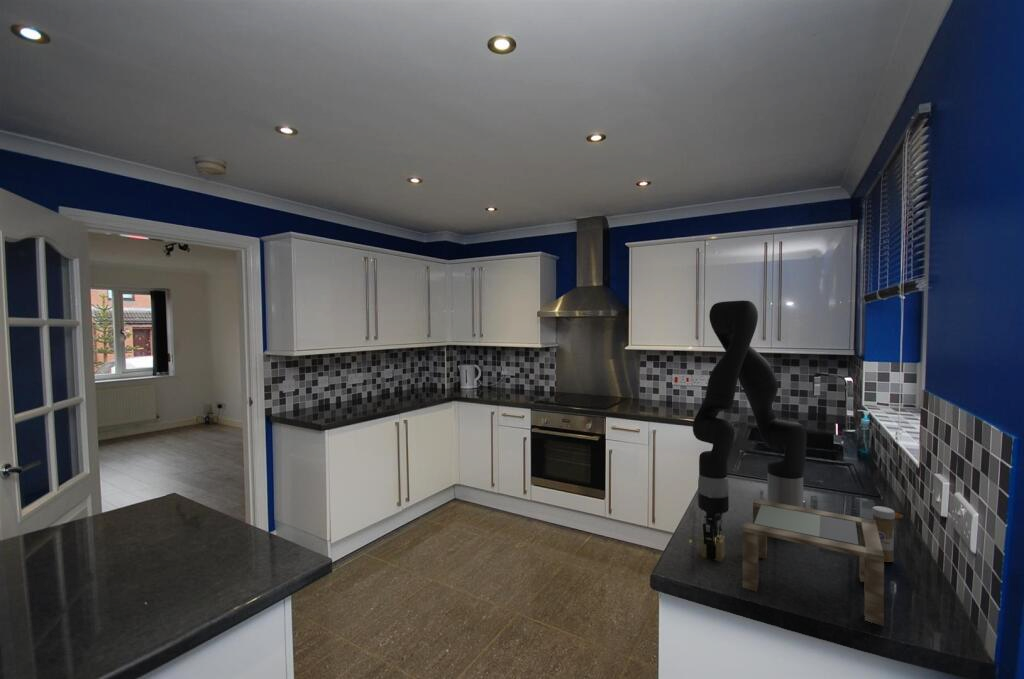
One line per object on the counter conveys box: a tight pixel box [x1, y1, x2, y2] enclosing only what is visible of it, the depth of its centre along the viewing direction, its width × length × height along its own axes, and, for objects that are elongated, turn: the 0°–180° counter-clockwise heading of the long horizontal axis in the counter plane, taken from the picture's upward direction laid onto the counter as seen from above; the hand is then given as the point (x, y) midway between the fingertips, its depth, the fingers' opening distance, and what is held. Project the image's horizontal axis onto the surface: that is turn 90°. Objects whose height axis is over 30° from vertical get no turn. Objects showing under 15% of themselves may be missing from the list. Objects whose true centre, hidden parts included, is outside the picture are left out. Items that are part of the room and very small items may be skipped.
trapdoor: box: [754, 505, 860, 562], centre depth 111 cm, size 20×14×4 cm
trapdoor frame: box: [742, 498, 885, 627], centre depth 110 cm, size 26×21×14 cm
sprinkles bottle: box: [872, 505, 896, 563], centre depth 121 cm, size 5×5×14 cm
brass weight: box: [700, 534, 726, 563], centre depth 124 cm, size 5×5×5 cm
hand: (713, 553), depth 124 cm, fingers closed on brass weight, 5 cm apart
